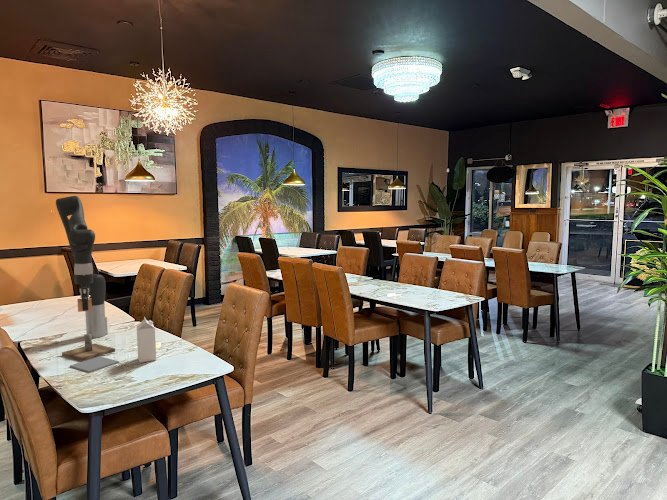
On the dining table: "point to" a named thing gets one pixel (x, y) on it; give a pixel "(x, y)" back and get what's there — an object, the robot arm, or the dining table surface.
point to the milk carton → (146, 341)
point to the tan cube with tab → (81, 305)
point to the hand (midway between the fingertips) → (85, 309)
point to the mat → (94, 364)
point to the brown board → (88, 350)
